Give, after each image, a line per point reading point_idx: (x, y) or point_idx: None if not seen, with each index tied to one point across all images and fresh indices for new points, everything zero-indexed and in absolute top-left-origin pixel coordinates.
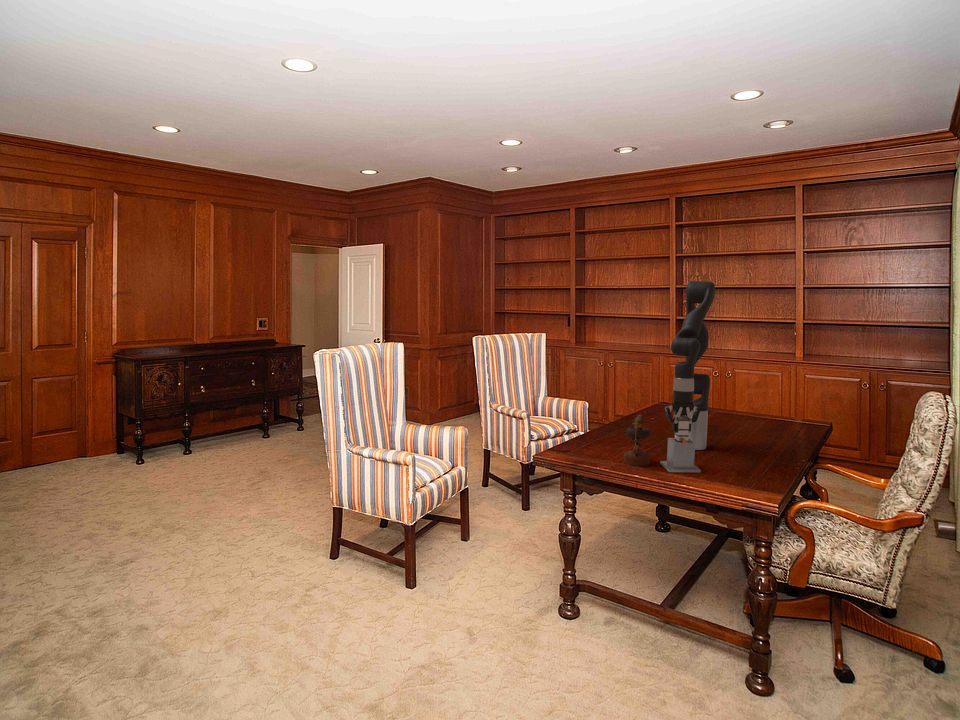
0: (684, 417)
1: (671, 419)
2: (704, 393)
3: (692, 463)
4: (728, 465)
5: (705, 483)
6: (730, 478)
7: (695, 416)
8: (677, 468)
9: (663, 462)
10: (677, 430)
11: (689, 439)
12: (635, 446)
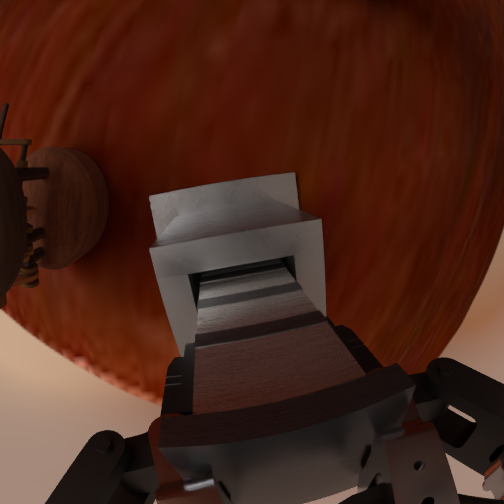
0: (347, 450)
1: (143, 493)
2: None
3: None
4: (418, 181)
5: None
6: (372, 333)
7: (449, 449)
8: None
9: (160, 221)
10: None
11: (320, 265)
12: (13, 285)
